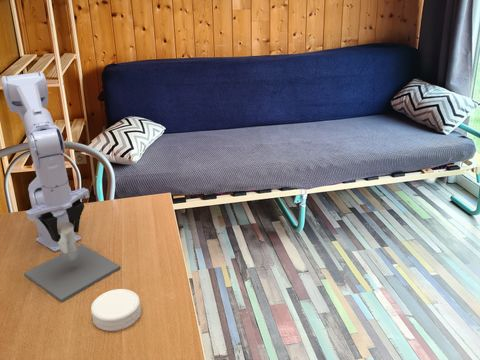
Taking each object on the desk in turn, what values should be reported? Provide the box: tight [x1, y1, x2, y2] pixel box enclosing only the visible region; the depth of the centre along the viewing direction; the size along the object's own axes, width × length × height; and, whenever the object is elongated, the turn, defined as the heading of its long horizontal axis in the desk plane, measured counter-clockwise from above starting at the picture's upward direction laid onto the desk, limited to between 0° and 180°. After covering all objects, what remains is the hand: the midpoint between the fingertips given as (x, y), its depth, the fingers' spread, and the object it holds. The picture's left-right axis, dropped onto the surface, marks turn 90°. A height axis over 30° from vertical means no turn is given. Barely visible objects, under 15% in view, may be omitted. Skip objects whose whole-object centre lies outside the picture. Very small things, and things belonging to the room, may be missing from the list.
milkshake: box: [57, 221, 78, 261], centre depth 117 cm, size 4×5×10 cm
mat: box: [23, 243, 122, 303], centre depth 121 cm, size 16×16×1 cm
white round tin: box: [90, 288, 142, 332], centre depth 106 cm, size 10×10×4 cm
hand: (65, 235), depth 116 cm, fingers closed on milkshake, 4 cm apart
